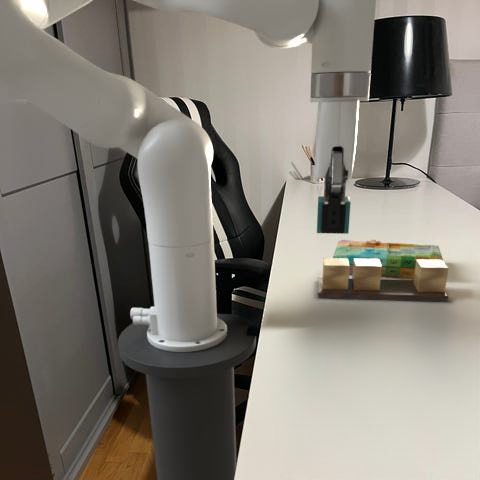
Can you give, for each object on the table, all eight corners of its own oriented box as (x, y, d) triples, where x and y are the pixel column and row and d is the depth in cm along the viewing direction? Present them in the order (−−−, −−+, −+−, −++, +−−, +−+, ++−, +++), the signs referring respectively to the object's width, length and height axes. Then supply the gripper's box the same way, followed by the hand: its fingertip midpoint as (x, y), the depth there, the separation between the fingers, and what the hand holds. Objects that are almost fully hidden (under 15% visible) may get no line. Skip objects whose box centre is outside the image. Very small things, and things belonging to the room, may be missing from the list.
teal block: (316, 233, 71) (318, 201, 69) (316, 226, 75) (318, 196, 73) (348, 233, 70) (350, 202, 68) (346, 226, 74) (348, 196, 72)
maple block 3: (418, 291, 86) (421, 267, 84) (413, 283, 90) (416, 259, 88) (444, 292, 85) (448, 267, 83) (438, 283, 89) (442, 260, 87)
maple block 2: (353, 290, 87) (355, 265, 85) (351, 281, 91) (353, 258, 89) (379, 290, 86) (382, 266, 85) (376, 282, 90) (378, 258, 89)
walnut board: (318, 298, 87) (318, 292, 86) (317, 282, 94) (318, 277, 93) (447, 301, 84) (448, 296, 83) (437, 285, 91) (437, 280, 91)
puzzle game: (338, 236, 106) (439, 241, 101) (337, 258, 108) (435, 263, 103) (333, 251, 96) (444, 257, 91) (332, 275, 98) (441, 282, 93)
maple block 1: (322, 289, 88) (323, 265, 86) (321, 280, 92) (323, 257, 90) (347, 289, 87) (349, 265, 85) (346, 281, 91) (347, 258, 89)
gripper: (311, 91, 73) (307, 216, 80) (309, 89, 58) (304, 243, 65) (364, 90, 72) (354, 216, 79) (375, 87, 57) (363, 244, 64)
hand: (332, 227), depth 72 cm, fingers closed on teal block, 4 cm apart
